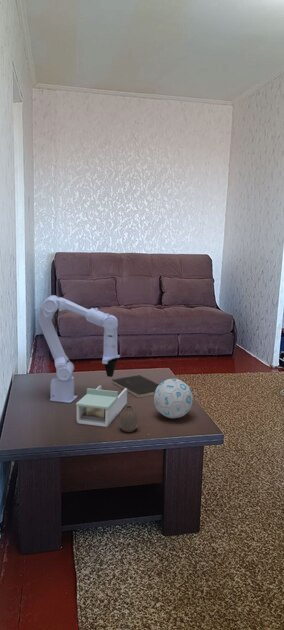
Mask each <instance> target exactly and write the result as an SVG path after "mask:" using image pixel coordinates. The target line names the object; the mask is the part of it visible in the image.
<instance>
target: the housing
mask: <svg viewBox="0 0 284 630" xmlns="http://www.w3.org/2000/svg"><path fill="white" fill-rule="evenodd" d="M102 388H103V387H102V385H101V384H100V385H98V386H97V387H96V388H95V389H100V390H103V389H102ZM127 404H128V391H127V388H125V389H123V390H122V391H121V392H120V393H118V399H117V400H116V401H115V402H114V403H113V405H112V406H111V407H110V408H109V409H106V411H105V418H102V417H94V416H86V407H84V406H76V424H79V425H80V424H81V425H89V426H97V427H103V428H104V427H105V428H109V426H110V425H111V423H112V422H113V421H114V420H115V418H116V417H117V416H118V415H119V414H120V412H122V410H124V409H123V408H125V407H126V406H127Z"/></svg>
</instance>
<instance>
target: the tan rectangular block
mask: <svg viewBox="0 0 284 630" xmlns="http://www.w3.org/2000/svg"><path fill="white" fill-rule="evenodd" d="M105 411H106V409H101V408H92V407H86V416H94V417H102V418H105Z"/></svg>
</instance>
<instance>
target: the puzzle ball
mask: <svg viewBox="0 0 284 630" xmlns="http://www.w3.org/2000/svg"><path fill="white" fill-rule="evenodd" d="M158 384H159V385H158V387H157V388H156V390H155V394H154V395H153V402H154V403H153V404H154V407H155V408H156V410H157V411H158V413H160V414H161V415H163V416H164V417H166V418H168V419H180V418H182V417H184V416H185V415H186V414H188V412H189V411H190V410H191V409H192V406H193V401H194V396H193V392H192V389H191V388H190V386H189V385H188V384H187V383H186V382H185V381H183V380H182V379H178V378H168V379H166V380H163V381H161V382H160V383H158Z"/></svg>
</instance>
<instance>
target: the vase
mask: <svg viewBox="0 0 284 630" xmlns="http://www.w3.org/2000/svg"><path fill="white" fill-rule="evenodd" d="M122 410H123V411H122ZM122 410H121V413H119V418H118V422H119V423H118V425H119V427H120V429H121V430H122V431H124V432H126V433H131V432H134V431H135V430H137V427H138V424H139V416H138V413H137V411H135V409H134V407H133V405H125V406H124V409H122Z"/></svg>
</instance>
